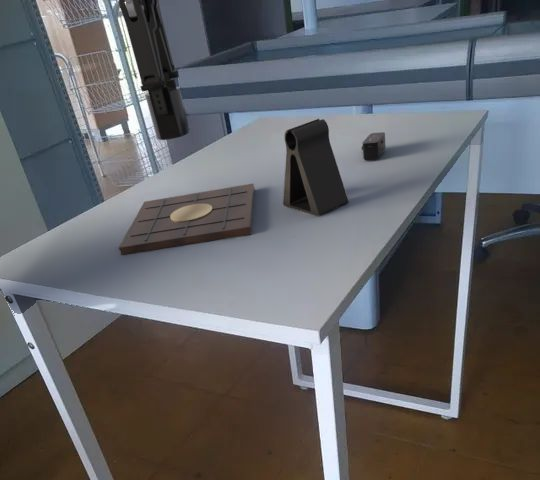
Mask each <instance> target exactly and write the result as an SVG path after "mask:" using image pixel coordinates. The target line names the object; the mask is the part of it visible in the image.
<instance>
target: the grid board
mask: <svg viewBox="0 0 540 480" xmlns="http://www.w3.org/2000/svg"><path fill="white" fill-rule="evenodd" d="M255 192H256V190H255V184H254V183H247V184H241V185H236V186H230V187H229V186H228V187H223V188H219V189H218V188H217V189H211V190H206V191H200V192H195V193H188V194H183V195H176V196H169V197H164V198H158V199H152V200H146V201H144V202H143V203H142V205H141V207H140V209H139V210H138V212H137V214H136V216H135V217H134V219H133V221H132V223H131V225H130V227H129V228H128V230H127V232H126V234H125V236H124V238H123V239H122V241H121V243H120V245H119V246H118V249H119V252H120V255H129V254H135V253H136V254H137V253H141V252H147V251H155V250H160V249H167V248H172V247H173V248H174V247H178V246H179V247H180V246H186V245H191V244H197V243H205V242H211V241H217V240H225V239H230V238H237V237H242V236H243V237H244V236H249V235H250V236H251V235H252V231H253V230H252V229H253V216H254V203H255Z"/></svg>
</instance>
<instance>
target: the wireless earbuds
mask: <svg viewBox="0 0 540 480" xmlns="http://www.w3.org/2000/svg"><path fill="white" fill-rule="evenodd" d="M360 147H361V151H362V157H363V160H364V161H368V162H369V161H370V162H371V161H377V160H378V159H379V158H380V157H381V156H382V155H383V153H384V152H385V151H386V132H384V131H383V132H381V131H380V132H372V133H370V134H368V136H367V137H366V138H365V139H364V140H363V141H362V145H361V146H360Z"/></svg>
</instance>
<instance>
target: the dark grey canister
mask: <svg viewBox="0 0 540 480" xmlns="http://www.w3.org/2000/svg"><path fill="white" fill-rule="evenodd" d="M168 88H169V92H170V96H171V100H172V104H173V108H174V112H175V116H176V120H177V124H178V128H179V132H180V137H175V138H170V139H164V140H163V141H168V140H173V139H178V138H181V137H184V136H186V135H188V134H190V133H191V130H190V129H191V128H190V126H189V121H188V117H187V113H186V108H185V105H184V100H183V96H182V91H181V87H180V86H176V87H168ZM144 96H145V100H146V103H147V107H148V111H149V115H150V118H151V122H152V125H153V129H154V133H155V137H156V139H157V140H159V141H162V140H161V137H160V133H159V129H158V126H157V122H156V118H155V115H154V111H153V107H152V103H151V100H150V96H149V92H148V91H147V92H146V93H145V94H144Z"/></svg>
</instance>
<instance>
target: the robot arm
mask: <svg viewBox="0 0 540 480" xmlns="http://www.w3.org/2000/svg"><path fill="white" fill-rule="evenodd" d="M118 7H119V9H120V11H121V14H122V18H123V20H124V23H125V27H126V29H127V34H128V38H129V42H130V44H131V49H132V52H133V56H134V60H135V63H136V67H137V70H138V74H139V78H140V84H141V85H140V90H141V92H142V93H144V92H147V93H148V92H149V96H150V100H151V103H152V107H153V111H154V115H155V118H156V122H157V126H158V129H159V133H160V137H161V140H160V141H165V140H164V139H168V140H171V139H170V138H174V139H176V138H175V137H178V138H181V137H180V132H179V128H178V124H177V120H176V116H175V112H174V108H173V104H172V100H171V96H170V92H169V88H168V87H177V84H176V78H177V79H178V78H179V77H180V74H179V70H176V68H175V64H174V61H173V58H172V53H171V49H170V45H169V41H168V36H167V33H166V28H165V24H164V19H163V16H162V11H161V7H160V1H159V0H118Z"/></svg>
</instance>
